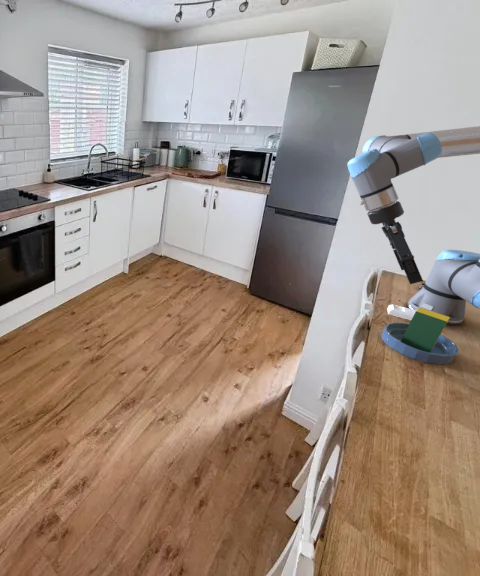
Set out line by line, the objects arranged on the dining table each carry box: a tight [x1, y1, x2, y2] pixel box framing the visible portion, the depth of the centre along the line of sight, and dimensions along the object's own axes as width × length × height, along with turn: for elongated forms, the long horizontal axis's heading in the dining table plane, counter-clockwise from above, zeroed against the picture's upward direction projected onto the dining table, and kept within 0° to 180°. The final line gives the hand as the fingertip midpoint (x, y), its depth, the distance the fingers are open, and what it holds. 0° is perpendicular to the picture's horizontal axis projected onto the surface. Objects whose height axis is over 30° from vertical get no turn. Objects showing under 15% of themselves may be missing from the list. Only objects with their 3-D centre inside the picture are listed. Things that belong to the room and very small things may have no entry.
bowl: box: [381, 321, 459, 365], centre depth 108 cm, size 17×17×4 cm
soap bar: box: [386, 304, 417, 321], centre depth 125 cm, size 5×9×3 cm, turn 56°
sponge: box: [400, 307, 450, 353], centre depth 107 cm, size 4×7×11 cm, turn 40°
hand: (411, 275), depth 103 cm, fingers open, 13 cm apart
